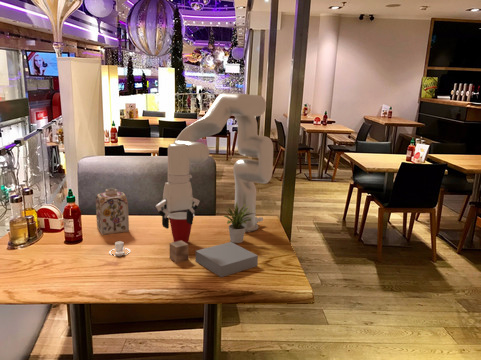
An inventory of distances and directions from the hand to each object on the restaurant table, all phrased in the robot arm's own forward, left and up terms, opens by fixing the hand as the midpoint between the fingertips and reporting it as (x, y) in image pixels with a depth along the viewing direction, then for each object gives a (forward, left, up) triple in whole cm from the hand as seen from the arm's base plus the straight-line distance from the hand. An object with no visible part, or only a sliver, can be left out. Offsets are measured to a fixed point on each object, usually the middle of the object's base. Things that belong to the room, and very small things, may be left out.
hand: (177, 225), depth 146 cm
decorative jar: (+7, -44, -13) cm, 47 cm away
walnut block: (0, 0, -13) cm, 13 cm away
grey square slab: (-13, +13, -13) cm, 22 cm away
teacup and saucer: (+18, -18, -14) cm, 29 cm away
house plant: (-29, -2, -13) cm, 32 cm away
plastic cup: (-10, -14, -13) cm, 22 cm away
